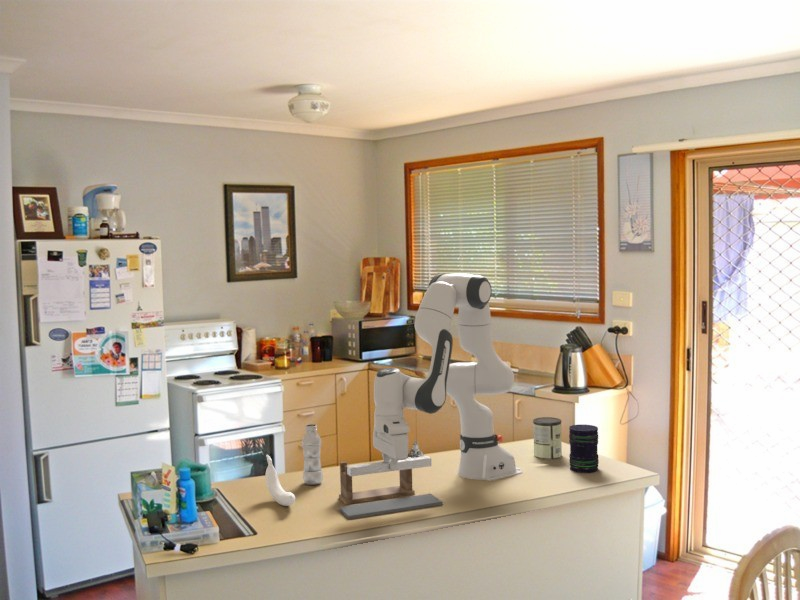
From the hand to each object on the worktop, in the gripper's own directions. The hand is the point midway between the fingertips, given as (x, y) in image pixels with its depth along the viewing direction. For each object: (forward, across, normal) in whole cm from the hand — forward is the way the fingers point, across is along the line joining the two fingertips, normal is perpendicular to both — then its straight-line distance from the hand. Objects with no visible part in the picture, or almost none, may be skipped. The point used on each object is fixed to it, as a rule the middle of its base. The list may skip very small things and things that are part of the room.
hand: (390, 468), depth 238 cm
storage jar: (+12, -9, +75) cm, 77 cm away
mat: (+12, 0, 0) cm, 12 cm away
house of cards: (+12, -48, +31) cm, 58 cm away
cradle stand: (+12, -13, 0) cm, 18 cm away
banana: (+12, -18, -29) cm, 36 cm away
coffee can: (+11, -29, +73) cm, 79 cm away
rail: (0, 0, 0) cm, 0 cm away
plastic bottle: (+12, -35, -14) cm, 40 cm away
